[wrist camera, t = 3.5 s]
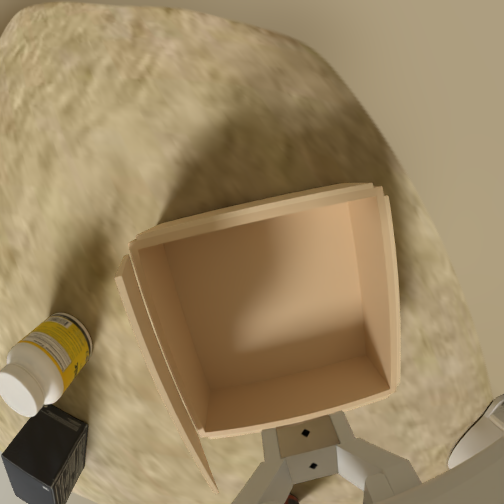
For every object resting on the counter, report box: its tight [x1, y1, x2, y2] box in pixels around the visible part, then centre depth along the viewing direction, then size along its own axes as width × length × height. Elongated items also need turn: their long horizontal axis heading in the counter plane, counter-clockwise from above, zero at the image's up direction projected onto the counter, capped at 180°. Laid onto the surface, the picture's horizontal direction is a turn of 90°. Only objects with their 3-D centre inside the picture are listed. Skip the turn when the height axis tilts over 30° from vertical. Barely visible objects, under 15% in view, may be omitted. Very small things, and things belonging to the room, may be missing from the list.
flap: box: [115, 254, 219, 494], centre depth 15 cm, size 6×14×1 cm
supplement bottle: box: [0, 313, 92, 417], centre depth 20 cm, size 5×5×10 cm
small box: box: [1, 404, 88, 504], centre depth 22 cm, size 11×6×10 cm, turn 157°
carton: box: [128, 183, 401, 439], centre depth 21 cm, size 15×16×6 cm
